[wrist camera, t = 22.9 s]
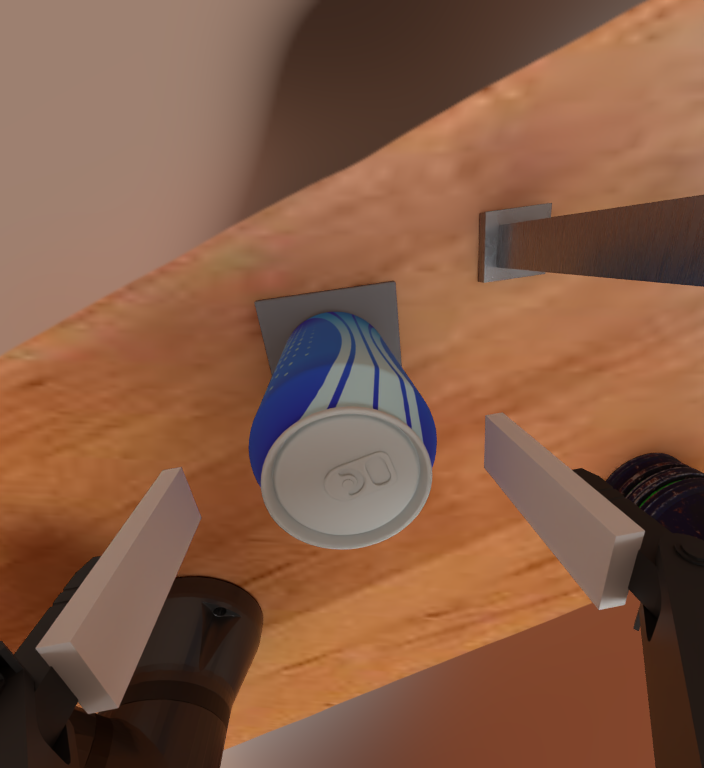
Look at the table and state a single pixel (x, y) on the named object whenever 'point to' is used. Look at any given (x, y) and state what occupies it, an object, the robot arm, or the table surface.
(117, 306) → the table surface
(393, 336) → the coaster
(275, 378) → the beer can
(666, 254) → the post
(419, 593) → the table surface
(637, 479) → the storage jar
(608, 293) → the table surface
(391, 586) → the table surface
